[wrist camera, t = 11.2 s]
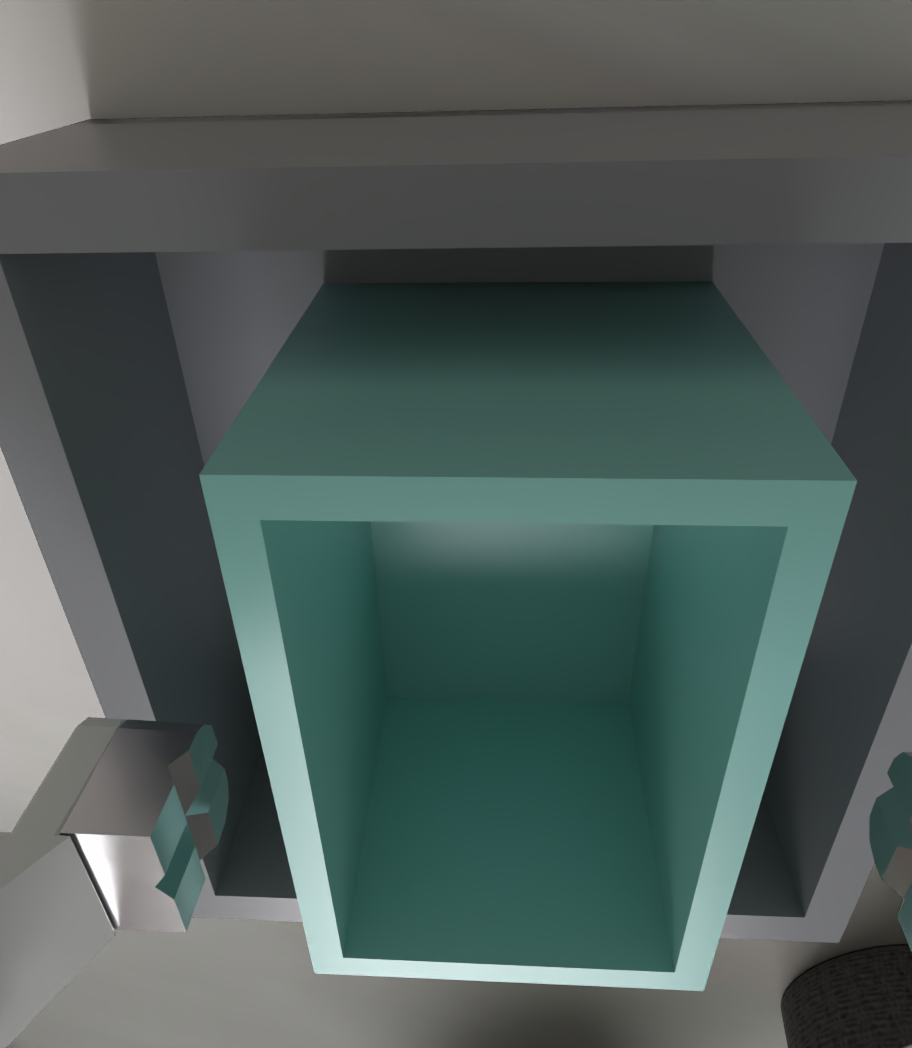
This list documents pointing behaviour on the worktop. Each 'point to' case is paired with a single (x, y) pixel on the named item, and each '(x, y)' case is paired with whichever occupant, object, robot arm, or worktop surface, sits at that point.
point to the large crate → (451, 257)
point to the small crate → (522, 619)
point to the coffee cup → (852, 1002)
